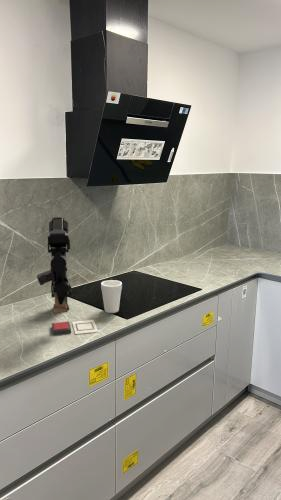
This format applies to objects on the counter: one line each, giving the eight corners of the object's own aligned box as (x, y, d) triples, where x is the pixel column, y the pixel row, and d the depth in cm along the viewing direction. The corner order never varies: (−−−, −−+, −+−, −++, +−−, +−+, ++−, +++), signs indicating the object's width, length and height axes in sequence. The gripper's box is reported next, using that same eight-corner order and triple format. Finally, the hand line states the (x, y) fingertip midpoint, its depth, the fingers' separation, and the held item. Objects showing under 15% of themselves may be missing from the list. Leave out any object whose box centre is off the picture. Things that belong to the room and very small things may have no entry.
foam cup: (103, 315, 174) (103, 287, 171) (99, 307, 183) (99, 281, 180) (124, 313, 177) (124, 285, 174) (119, 305, 185) (119, 279, 182)
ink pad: (51, 326, 162) (51, 322, 161) (69, 324, 164) (68, 320, 163) (53, 334, 154) (52, 330, 154) (71, 332, 156) (70, 328, 156)
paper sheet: (72, 322, 166) (72, 321, 166) (93, 320, 168) (93, 319, 168) (75, 334, 155) (75, 333, 154) (98, 332, 157) (98, 331, 157)
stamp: (53, 308, 159) (53, 289, 157) (66, 307, 160) (65, 289, 158) (54, 313, 154) (53, 294, 152) (67, 312, 155) (66, 293, 153)
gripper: (36, 259, 159) (38, 296, 163) (38, 272, 142) (40, 312, 145) (64, 258, 162) (65, 294, 166) (69, 270, 145) (70, 310, 148)
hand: (60, 302), depth 156 cm, fingers closed on stamp, 4 cm apart
